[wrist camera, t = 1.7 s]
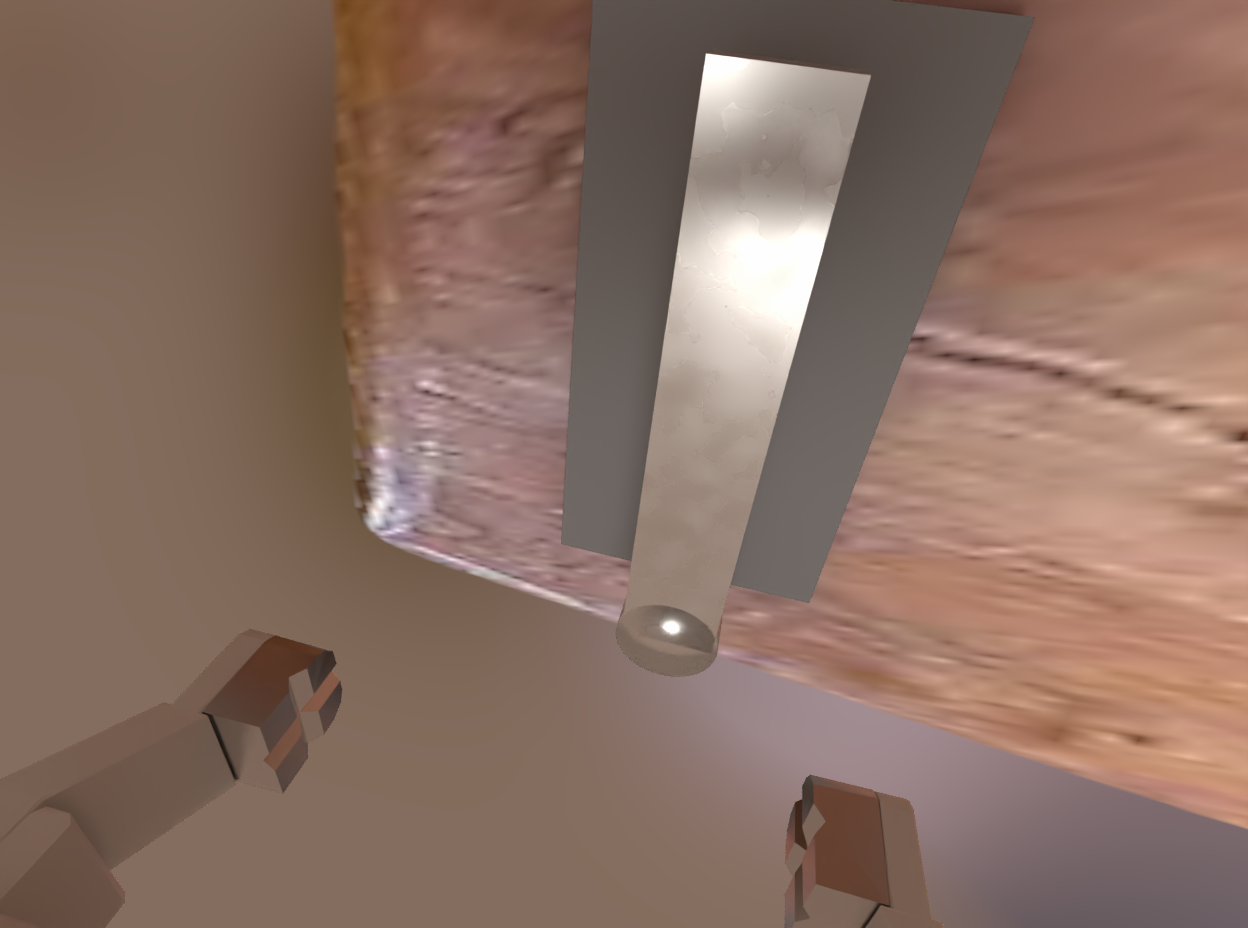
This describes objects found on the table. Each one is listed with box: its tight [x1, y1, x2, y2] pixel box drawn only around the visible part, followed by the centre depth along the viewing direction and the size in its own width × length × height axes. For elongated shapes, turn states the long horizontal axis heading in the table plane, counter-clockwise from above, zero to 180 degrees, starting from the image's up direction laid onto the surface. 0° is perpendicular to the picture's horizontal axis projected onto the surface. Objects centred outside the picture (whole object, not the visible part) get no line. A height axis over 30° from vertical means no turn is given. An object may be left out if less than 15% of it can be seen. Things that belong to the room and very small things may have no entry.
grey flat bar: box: [616, 50, 871, 677], centre depth 29 cm, size 30×6×2 cm, turn 174°
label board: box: [561, 0, 1035, 603], centre depth 32 cm, size 30×16×5 cm, turn 174°
